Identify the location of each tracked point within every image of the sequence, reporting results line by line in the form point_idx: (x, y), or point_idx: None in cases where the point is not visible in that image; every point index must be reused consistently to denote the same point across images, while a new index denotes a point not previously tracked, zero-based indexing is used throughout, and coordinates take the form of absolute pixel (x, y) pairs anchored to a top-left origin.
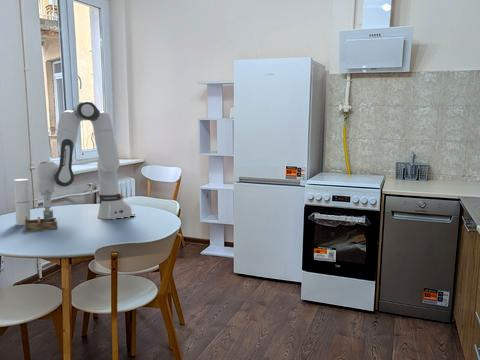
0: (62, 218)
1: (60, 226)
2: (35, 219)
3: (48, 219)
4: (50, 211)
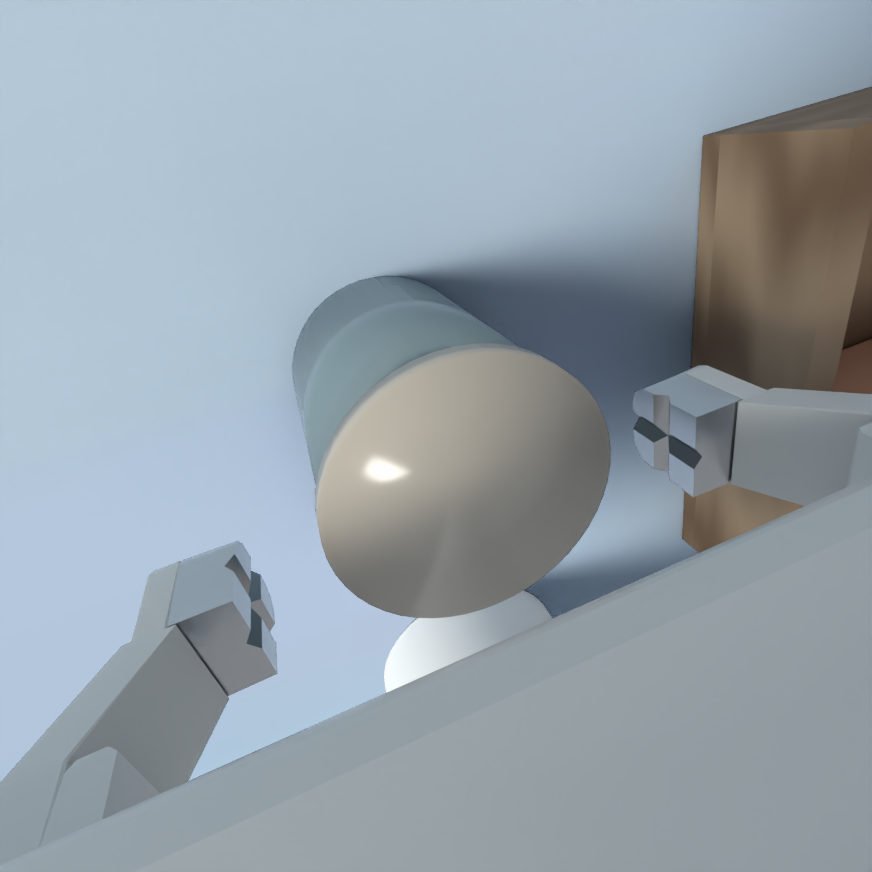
0: (15, 79)
1: (842, 13)
2: (789, 505)
3: (836, 292)
4: (588, 395)
